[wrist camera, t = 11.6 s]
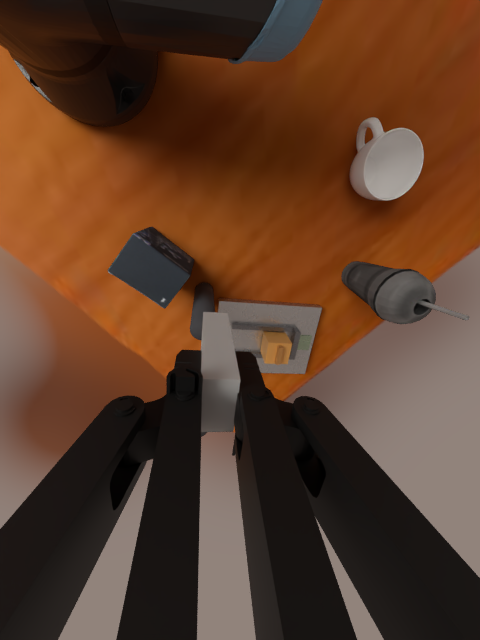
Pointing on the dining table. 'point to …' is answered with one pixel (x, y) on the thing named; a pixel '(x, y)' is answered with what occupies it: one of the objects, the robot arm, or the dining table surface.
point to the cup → (385, 162)
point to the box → (153, 266)
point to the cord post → (201, 308)
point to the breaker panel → (272, 329)
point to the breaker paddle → (275, 348)
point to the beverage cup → (393, 292)
